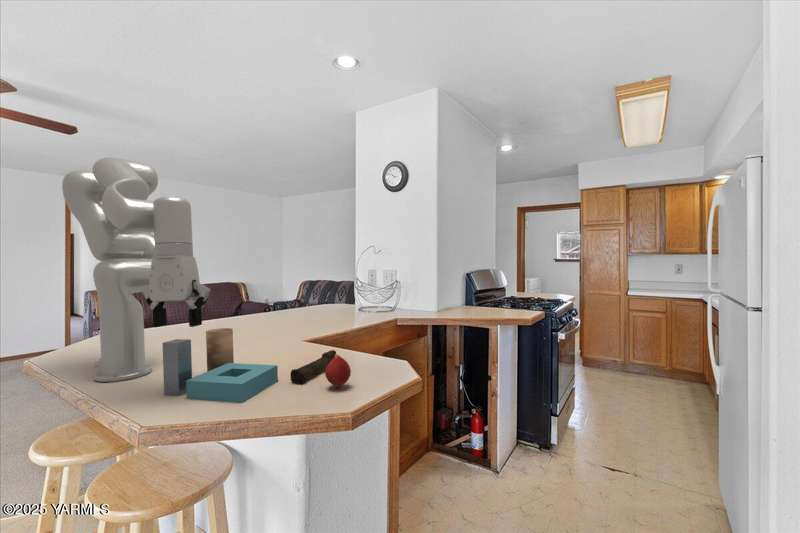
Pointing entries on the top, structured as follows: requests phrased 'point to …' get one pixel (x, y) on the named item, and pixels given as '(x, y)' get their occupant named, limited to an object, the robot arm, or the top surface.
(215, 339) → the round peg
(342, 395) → the top surface
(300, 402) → the top surface
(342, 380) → the onion
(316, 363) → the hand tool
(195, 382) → the socket block
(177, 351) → the square peg
